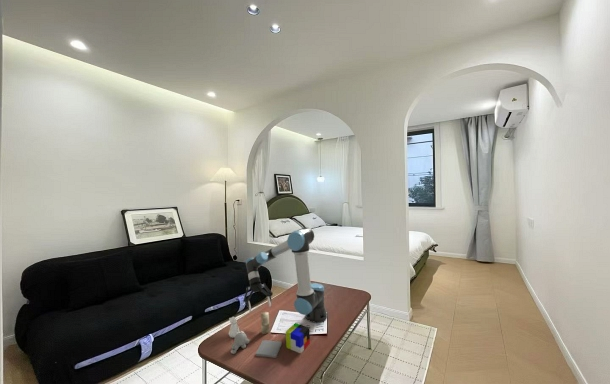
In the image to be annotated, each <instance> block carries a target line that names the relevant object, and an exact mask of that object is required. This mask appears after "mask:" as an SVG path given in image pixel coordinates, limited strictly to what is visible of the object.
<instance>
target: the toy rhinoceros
mask: <svg viewBox="0 0 610 384" xmlns="http://www.w3.org/2000/svg"><path fill="white" fill-rule="evenodd" d="M243 332H244V331H243ZM243 332H240V333H238V334H237V335H236V336H235V337H234V340H233V341H234V342H233V343H230V345H231V350H230V353H231V354H232V355H235V354H236V353H237V350H238V349H239V348H240V347H241V348H242V350H243V349H246V348H247V345H248V344H249V343H250V340H249V338H248V337H247V334H246V333H245V332H244V333H243Z"/></svg>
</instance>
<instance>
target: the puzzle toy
mask: <svg viewBox="0 0 610 384" xmlns="http://www.w3.org/2000/svg"><path fill="white" fill-rule="evenodd" d="M310 338H311V336H310V327H309V326H307V325H303V324H301V323H297V322H295V323H294V324H292V325H291V326H290V327H289V328H288V329H287V330H286V331H285V341H286V344H285V345H286V349H289V350H291V351H294V352H296V353H298V354H302V353H303V352H304V351H305V349H306V348H307V347H308V346H309V345H310V342H311V339H310Z"/></svg>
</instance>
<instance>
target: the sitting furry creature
mask: <svg viewBox="0 0 610 384" xmlns="http://www.w3.org/2000/svg"><path fill="white" fill-rule="evenodd" d="M228 320H229V323H230V324H231V325H230V328H229V331H228V336H229V337H230V338H235V336H236V335H237V334H238V333H240V332H243V333H245V331H243V330H241V331H240V328H239V325H238V321H237V318H236V317H235V316H232V317H229V319H228Z"/></svg>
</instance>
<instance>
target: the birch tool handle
mask: <svg viewBox="0 0 610 384" xmlns="http://www.w3.org/2000/svg"><path fill="white" fill-rule="evenodd" d="M269 314H270V312H268V311H264V312H261V313H260V323H261V324H260V325H261V326H260V327H261V334H262V335H266V334H267V335H268V334H269V333H270V315H269Z"/></svg>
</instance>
